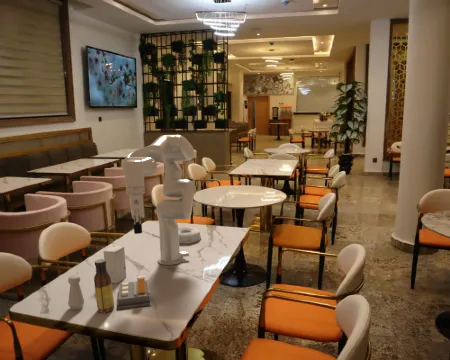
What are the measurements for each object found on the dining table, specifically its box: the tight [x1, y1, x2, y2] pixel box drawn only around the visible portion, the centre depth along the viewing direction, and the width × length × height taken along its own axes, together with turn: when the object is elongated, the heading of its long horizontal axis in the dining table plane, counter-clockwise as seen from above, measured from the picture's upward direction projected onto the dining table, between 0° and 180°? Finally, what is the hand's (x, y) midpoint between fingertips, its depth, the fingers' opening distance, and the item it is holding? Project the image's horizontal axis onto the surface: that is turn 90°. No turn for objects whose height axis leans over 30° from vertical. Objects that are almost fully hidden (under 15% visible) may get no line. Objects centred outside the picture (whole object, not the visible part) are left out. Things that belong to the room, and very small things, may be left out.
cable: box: [178, 226, 202, 245], centre depth 231 cm, size 18×18×6 cm
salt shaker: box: [67, 274, 85, 312], centre depth 151 cm, size 6×6×13 cm
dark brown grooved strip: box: [117, 300, 151, 310], centre depth 152 cm, size 12×2×1 cm, turn 103°
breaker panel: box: [118, 279, 151, 305], centre depth 161 cm, size 12×15×4 cm
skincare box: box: [103, 245, 127, 285], centre depth 176 cm, size 8×6×15 cm
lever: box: [136, 274, 146, 294], centre depth 157 cm, size 3×2×7 cm
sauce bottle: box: [93, 258, 115, 313], centre depth 149 cm, size 7×6×20 cm
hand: (138, 232), depth 163 cm, fingers closed
